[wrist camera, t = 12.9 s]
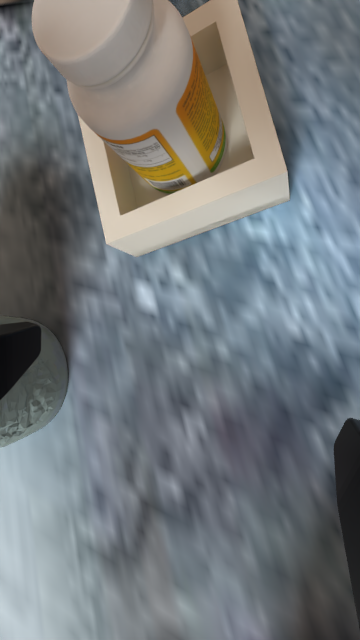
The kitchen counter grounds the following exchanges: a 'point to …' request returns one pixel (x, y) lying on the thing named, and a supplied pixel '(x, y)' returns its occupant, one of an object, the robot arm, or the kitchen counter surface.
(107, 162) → the cream square tray
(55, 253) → the kitchen counter surface
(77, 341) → the kitchen counter surface
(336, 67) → the kitchen counter surface
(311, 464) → the kitchen counter surface
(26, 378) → the grey green cup
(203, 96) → the supplement bottle
